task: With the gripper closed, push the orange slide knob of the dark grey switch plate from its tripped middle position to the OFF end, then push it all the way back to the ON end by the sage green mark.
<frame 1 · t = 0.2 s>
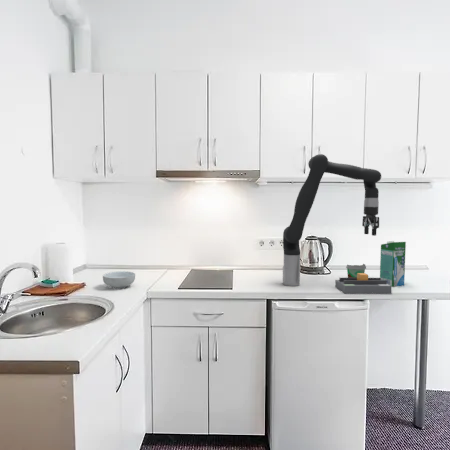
hand: (370, 234, 187), 29 cm above the counter, tool pointing down, fingers open, 8 cm apart
cereal bowl: (119, 287, 181), on the counter
switch plate: (362, 290, 175), on the counter
switch knob: (362, 278, 175), point 7 cm above the counter, slide at 0.0 cm
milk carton: (391, 284, 190), on the counter
food container: (358, 282, 195), on the counter
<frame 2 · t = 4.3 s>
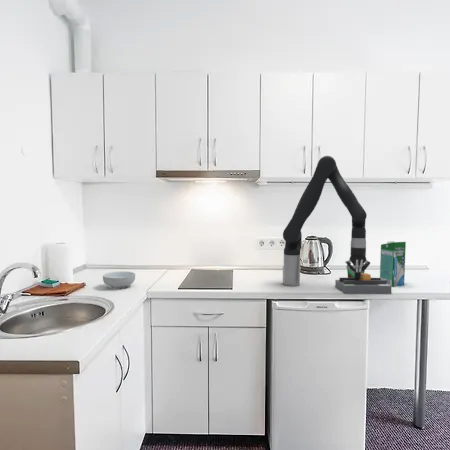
hand: (357, 278, 175), 6 cm above the counter, tool pointing down, fingers closed
switch knob: (365, 278, 175), point 7 cm above the counter, slide at 1.3 cm, touching gripper
everything else where it was.
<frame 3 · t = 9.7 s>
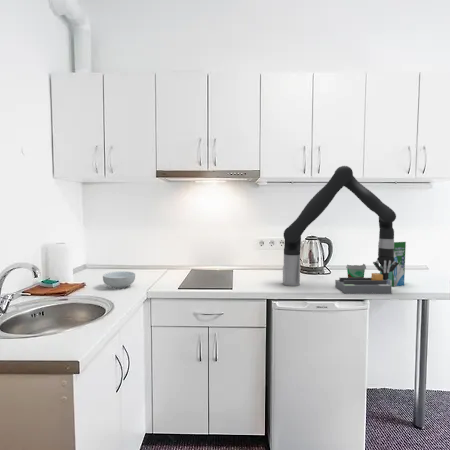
hand: (385, 279, 175), 6 cm above the counter, tool pointing down, fingers closed
switch knob: (377, 278, 175), point 7 cm above the counter, slide at 7.7 cm, touching gripper
everything else where it was.
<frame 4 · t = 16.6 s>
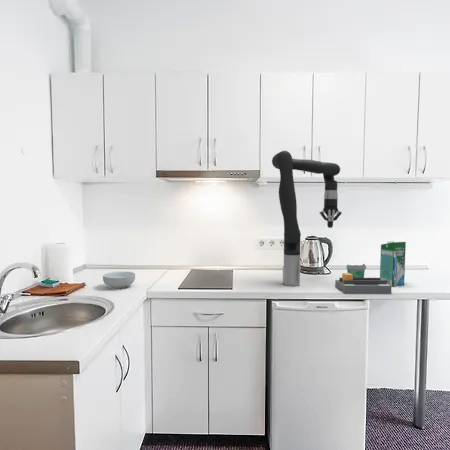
hand: (330, 227, 194), 32 cm above the counter, tool pointing down, fingers closed
switch knob: (347, 278, 175), point 7 cm above the counter, slide at -8.1 cm
everything else where it was.
at the end: switch knob slide at -8.1 cm; food container moved 0.2 cm from its start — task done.
